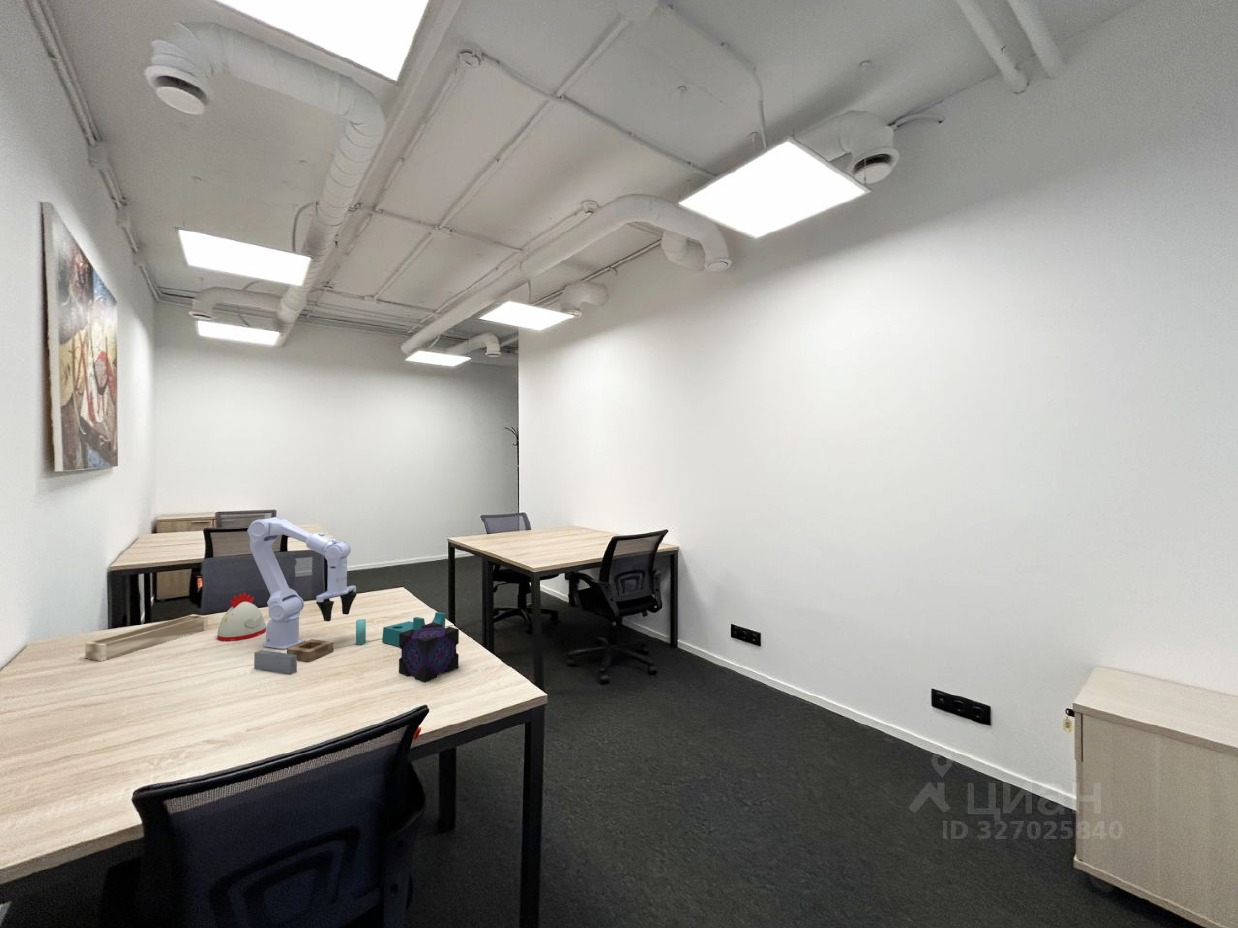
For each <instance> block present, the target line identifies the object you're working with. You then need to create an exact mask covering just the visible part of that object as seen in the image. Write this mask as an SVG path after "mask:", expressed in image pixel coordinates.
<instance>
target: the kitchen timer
mask: <svg viewBox="0 0 1238 928" xmlns="http://www.w3.org/2000/svg"><path fill="white" fill-rule="evenodd" d="M254 600H255V596H252V597H251V594H248V595H247V592H243V594H242V593H239V594H238V597H237V595H233V600H231V599H230V600H229V603H230V605H231V607H230V608H229V609H228V610H227V611H226V612H225V614H224V615H223V616H222V618H221V620H220V623H219V626H218V630H217V632H216V633H217V636H216V637H217V640H218V641H219V642H226V643H227V642H228V643H230V642H240V641H245V640H249V639H253V638H256V637H259V636H262V635H263V634H266V626H267V623H266V621H265V618H264V615H263V614H262V612H261V610H260V609H259V607H257V606H256V604H253V602H254Z"/></svg>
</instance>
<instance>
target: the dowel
mask: <svg viewBox="0 0 1238 928" xmlns="http://www.w3.org/2000/svg"><path fill="white" fill-rule="evenodd" d="M366 629H367V619H365V618H361V619H357V620H356V622H355V645H356V646H362V645H365V644H366V642H367V641H366V639H367V635H366V634H367V633H366V632H367V630H366Z"/></svg>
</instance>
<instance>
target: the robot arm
mask: <svg viewBox="0 0 1238 928" xmlns="http://www.w3.org/2000/svg"><path fill="white" fill-rule="evenodd" d="M246 533H247V534H248V536H249V549H250V551H251V554H252V556H253V559H254V561H255V563H256V566H257V567H258V570H259V572H260V574H261V577H262V580H263V581H264V584H265V585H266V587H267V590H268V593H269V594H270V596H269V599H268V600H267V602H266V603H267V604H266V605H267V606H268V616H269V618H270V620H269V621H268V622H267V623H266V632H265V644H263V645H262V646H263V647H265V648H273V649H280V650H287V649H288V648H291V647H293V646H296V645H298V644H301V643H303V642H306V639H302V638H300V615H301V612H302V610H304V607H305V602H304V599H303V598H302V597H301V596H299V594H298V592H297V591H296V590H294V589H292V588H291V587H289V585H288V582H287V580H286V578H285V575H284V573H283V570H282V569H281V566H280V565H279V561H278V560H277V558H276V555H275V553H274V550H273V548H272V546H273V544H274V542H275V541H276V540H277V539H278V538H279V537H280V536H281V535H284V536H287V537H289V538H292V539H295V540H298V541H299V542H303V543H305V544H306V545H305V546H306V548H307V549H309V550H311V551H314V552H316V553H319V554H321V555H322V556H324V558H325V560H326V561H327V590H326V591H325V592H322V593H321V594H319V595H316V601H315V602H316V605H317V607H318V608H319V610H320V612H321V614H322V618H323V621H324V622H331V620H332V611H333V607H334V604H335V601H333V600H332V599H333V598H336V597H339V598H340V601H341V612H342V615H347V616H348V615H350V612H351V607H352V604H353V602H354V600H355V599H356V597H357V586H356V585H349V586H347V584H348V580H347V579H348V557H349V555H350V554H351V549H352V548H351V546H350V545H349V544H348V543H347V542H346V541H337V539H336V538H334V539H332V538H330V537H328V536H326V535H325V533H324V532H315V533H310V532H309V531H306V530H305V529H302V528H301V527H299V526H297V525H295V524H294V523H291V522H290V521H289V520H288V519H285V518H282V517H280V516H274V517H270V518H262V519H256V520H253V521H252V522H251V523H250V524H249V527H248V528H247V532H246Z"/></svg>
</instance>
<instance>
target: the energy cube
mask: <svg viewBox="0 0 1238 928" xmlns="http://www.w3.org/2000/svg"><path fill="white" fill-rule="evenodd" d="M431 622H432V621H431ZM431 622H430V623H427V624H426V623H425V625H423V626H421V629H418V630H413V629H411V630H408V631H405V632H402V633H399V646H398V648H399V649H401V655H400V658H398V674H400V675H403V676H405V677H411V676H412V677H414V679H415V680H416V681H419V682H422V683H423V684H425V683H428V682H430V681H432V680H434V679H437V678H438V677H439V675H441V674H442V673H444V674H448V673H450V672H452V671H455V670H456V669H457V670H458V669H459V661H460V660H459V656H460V655H459V653H458V652H457V645H458V644H460V642H459V641H460V638H459V637H460V629H459V628H456V627H452V626H447V627H445V628H444V627H442V624H438V623H434V622H432V623H431Z"/></svg>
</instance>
